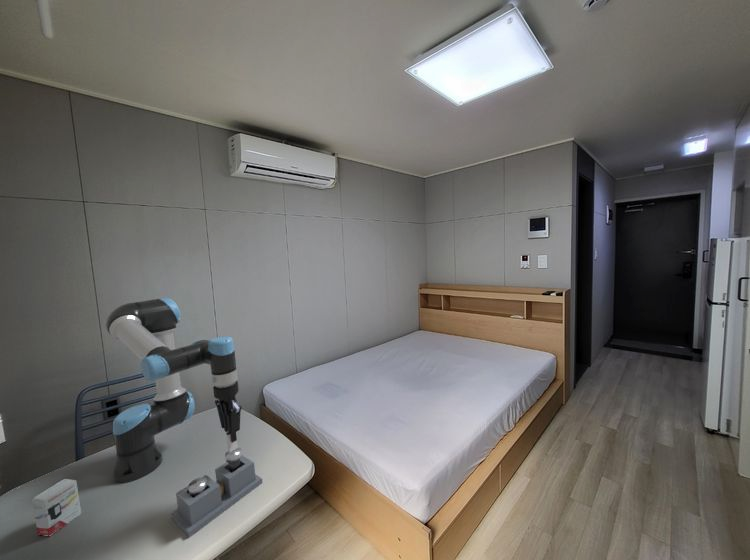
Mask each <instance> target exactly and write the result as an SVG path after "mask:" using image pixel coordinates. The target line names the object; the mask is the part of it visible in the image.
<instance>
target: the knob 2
mask: <svg viewBox="0 0 750 560" xmlns="http://www.w3.org/2000/svg"><path fill="white" fill-rule="evenodd" d="M241 456H243V455H242V448H241V447H238V448H237V449H235V450H233V451H232V452H229V451H228V450H227V451H226V452H225V454H224V457H225V463H226V462H228V464H229V472H231V473H233V472H234V471H236V470H237V469H239V468H240V467H241V465H240V458H241Z"/></svg>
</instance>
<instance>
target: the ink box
mask: <svg viewBox="0 0 750 560" xmlns="http://www.w3.org/2000/svg"><path fill="white" fill-rule="evenodd" d="M78 490H79V489H78V483H77V479H70V478H64V479H62V480H60V481H59V482H57V483H55V484H54V485H52V486H50V487H49V488H47V489H46V490H44V491H42V492H41V493H39V494H37V495H36V496H34V497H33V498H32V499H31V501H32V502H31V503H32V506H33V507H32V509H33V514H34V520H35V526H36V531H37V535H38V534H40V535H48V536H49V535H51V534H52V533H54V532H55V531H57V530H58V529H60V528H61V527H63V526H64V525H65V526H66V524H67V525H68V524H69V523H71V522H72V521H73V520H75V519H77V518H78V517H79V516H80V515H81V514H82V508H81V503H80V494H79V491H78ZM74 518H75V519H74ZM70 521H71V522H70ZM65 526H64V527H65ZM64 527H63V528H64ZM61 529H62V528H61ZM61 529H60V530H61ZM57 532H58V531H57ZM54 534H55V533H54Z"/></svg>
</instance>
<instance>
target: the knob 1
mask: <svg viewBox="0 0 750 560" xmlns="http://www.w3.org/2000/svg"><path fill="white" fill-rule="evenodd" d="M187 486H188V490H189V495H191V496H192V497H193V498H194V497H196V496H198V495H199V494H201V493H202V492H204V491H205V490H206V488H207V480H206V478H204V477H203V476H202V477H198V478H195V479H194V480H192V481H191V482H190V483H189V484H188V485H187Z"/></svg>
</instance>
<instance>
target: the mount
mask: <svg viewBox="0 0 750 560" xmlns="http://www.w3.org/2000/svg"><path fill="white" fill-rule="evenodd" d="M240 465H241V467H240V468H239V469H237V470H236V471H234V472H233V473H231V472H229V464H228V462H226V461H225V462H224V463H222V464H221V465H220V466H218V467H216V468H215V469H214V472H215V473H214V474H215V479H216V481H215V480H214V479H212V478H211V477H210V476H208V474H205V475H203V476H202V477H204V478H206V480H207V488H206V490H205V491H204V492H202V493H201V494H199V495H198V496H196V497H194V498H193V497H192V496H191V495H189V490H188V485H187V486H185V487H184V488H182V489H181V490H179V491H177V492H176V493H175V496H176V504H177V509H176V510H173V512H171V513H170V516H171V519H172V520H173V521H174V523H175V524H176V525H177V526H178V527H179V528H180V529H181V531H183V532H184V534H185V535H187V537H188V538H191V537H193V535H195V534H196V533H198V532H199V531H201V530H202V529H204V528H205V526H207V525H208V524H210V523H211V522H212V521H213V520H215V519H216V518H217V517H219V516H220V515H222V514H223V513H224V512H225V511H227V510H229V508H231V507H232V506H233V505H235V504H236V503H237V502H239V501H241V499H243V498H244V497H246V496H247V495H248V494H250V493H251V492H252V491H253V490H255V489H256V488H258V487H259V486H260V485H262V484H263V478H262V477H260V476H259V475H258V474H256V469H255V462H254V461H253V460H251V459H249V458H247V457H246V456H244V455H242V456H241V458H240Z"/></svg>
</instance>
